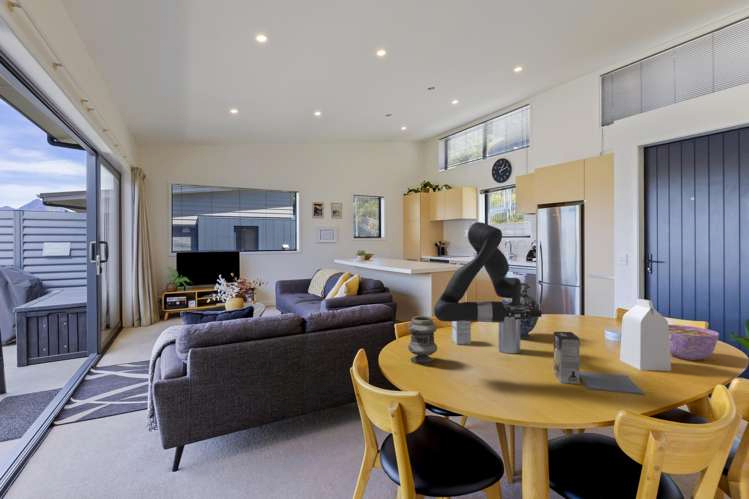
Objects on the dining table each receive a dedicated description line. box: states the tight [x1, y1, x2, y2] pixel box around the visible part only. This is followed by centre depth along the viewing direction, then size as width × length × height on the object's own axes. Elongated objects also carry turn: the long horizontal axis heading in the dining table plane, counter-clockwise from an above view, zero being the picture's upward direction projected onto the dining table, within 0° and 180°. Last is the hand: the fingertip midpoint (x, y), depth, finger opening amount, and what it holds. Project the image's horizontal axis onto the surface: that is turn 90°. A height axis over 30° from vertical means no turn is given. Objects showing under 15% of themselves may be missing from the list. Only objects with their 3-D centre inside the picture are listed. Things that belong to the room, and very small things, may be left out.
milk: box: [619, 298, 672, 372], centre depth 143 cm, size 12×12×26 cm
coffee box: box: [553, 331, 581, 385], centre depth 129 cm, size 9×6×16 cm
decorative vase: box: [501, 282, 540, 341], centre depth 187 cm, size 21×19×28 cm
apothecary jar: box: [407, 315, 438, 365], centre depth 151 cm, size 12×12×18 cm
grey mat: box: [579, 370, 645, 396], centre depth 125 cm, size 16×16×1 cm
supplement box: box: [451, 321, 472, 346], centre depth 178 cm, size 7×7×13 cm
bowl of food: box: [668, 324, 720, 361], centre depth 152 cm, size 20×20×12 cm
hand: (539, 312), depth 129 cm, fingers open, 3 cm apart
